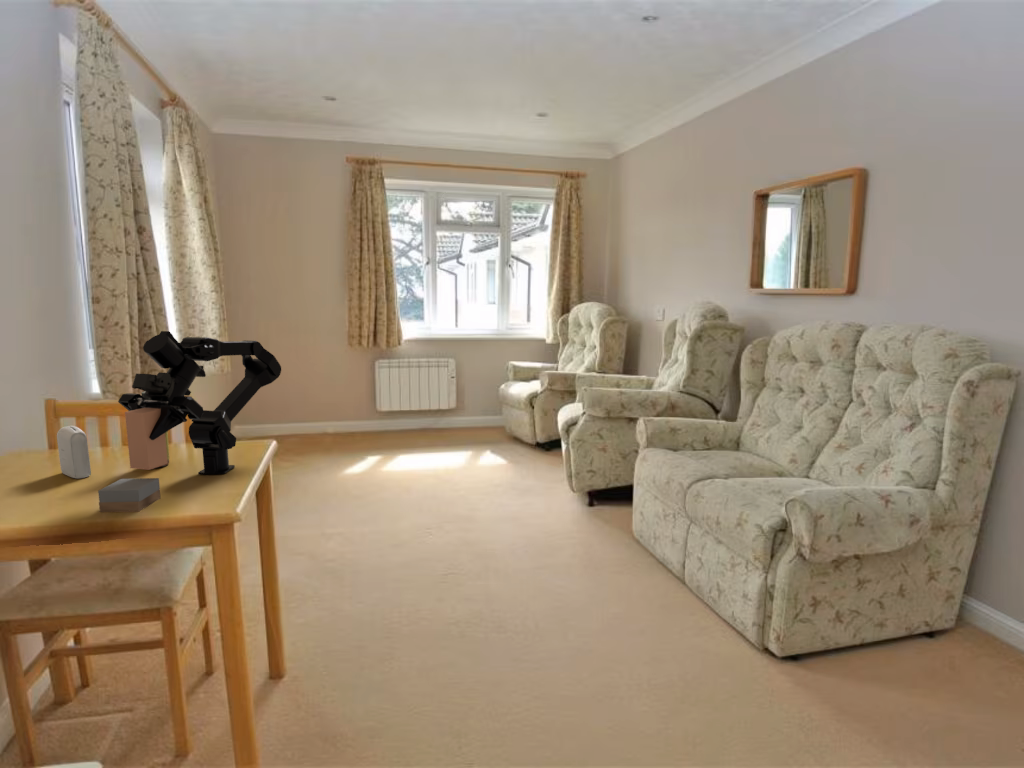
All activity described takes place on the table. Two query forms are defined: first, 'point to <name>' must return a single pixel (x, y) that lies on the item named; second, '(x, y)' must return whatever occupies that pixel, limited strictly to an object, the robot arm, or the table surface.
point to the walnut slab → (129, 504)
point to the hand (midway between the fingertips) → (141, 438)
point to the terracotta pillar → (145, 439)
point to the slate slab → (129, 490)
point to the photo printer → (73, 452)
